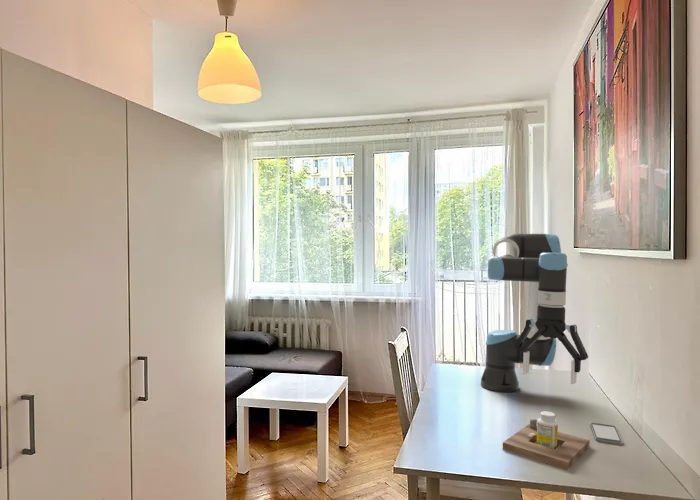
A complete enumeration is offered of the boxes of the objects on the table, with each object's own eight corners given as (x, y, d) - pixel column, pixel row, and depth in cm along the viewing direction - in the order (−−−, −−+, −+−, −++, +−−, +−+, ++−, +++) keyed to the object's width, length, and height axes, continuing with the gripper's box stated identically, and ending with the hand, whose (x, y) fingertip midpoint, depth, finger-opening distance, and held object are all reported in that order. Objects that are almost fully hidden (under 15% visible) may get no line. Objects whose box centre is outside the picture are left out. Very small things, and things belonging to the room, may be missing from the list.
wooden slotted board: (529, 430, 156) (529, 416, 156) (589, 446, 144) (590, 432, 144) (502, 449, 141) (503, 434, 141) (567, 469, 129) (568, 453, 129)
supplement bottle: (549, 443, 146) (550, 409, 145) (560, 451, 140) (562, 416, 140) (532, 444, 145) (533, 410, 144) (543, 452, 139) (544, 417, 139)
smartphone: (595, 439, 148) (590, 422, 162) (595, 442, 148) (590, 425, 162) (623, 443, 145) (615, 425, 160) (623, 446, 146) (615, 429, 160)
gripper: (504, 302, 147) (502, 372, 147) (594, 311, 130) (591, 390, 131) (514, 300, 153) (512, 367, 153) (601, 309, 136) (598, 384, 137)
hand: (548, 378), depth 142 cm, fingers open, 13 cm apart
